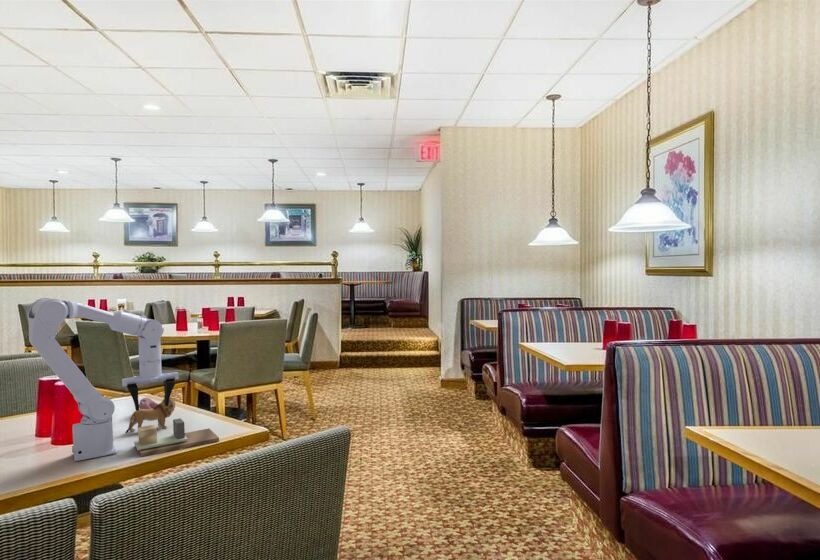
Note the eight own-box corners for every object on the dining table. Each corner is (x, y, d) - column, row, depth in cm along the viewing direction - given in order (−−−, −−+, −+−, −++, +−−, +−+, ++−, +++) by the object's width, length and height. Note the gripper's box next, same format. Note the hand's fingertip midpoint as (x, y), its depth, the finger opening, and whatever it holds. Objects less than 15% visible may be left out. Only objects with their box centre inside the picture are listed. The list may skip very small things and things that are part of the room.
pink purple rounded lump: (149, 415, 186) (139, 398, 185) (162, 408, 188) (152, 391, 186) (145, 423, 177) (134, 405, 176) (158, 415, 178) (147, 398, 177)
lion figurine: (172, 422, 172) (171, 394, 172) (178, 425, 168) (177, 397, 168) (122, 433, 162) (121, 403, 162) (127, 436, 158) (126, 406, 158)
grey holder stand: (137, 450, 142) (136, 431, 142) (134, 443, 148) (133, 425, 147) (187, 440, 149) (186, 422, 149) (182, 434, 155) (181, 417, 155)
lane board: (141, 456, 141) (140, 453, 140) (135, 445, 150) (135, 442, 150) (219, 441, 152) (219, 437, 152) (209, 431, 161) (209, 428, 161)
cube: (140, 445, 144) (140, 431, 144) (138, 441, 147) (138, 427, 147) (157, 442, 146) (156, 428, 146) (154, 438, 149) (154, 424, 149)
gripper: (123, 365, 146) (125, 414, 147) (180, 359, 155) (181, 406, 155) (120, 362, 152) (122, 409, 153) (175, 356, 160) (176, 401, 161)
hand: (152, 407), depth 154 cm, fingers open, 7 cm apart
